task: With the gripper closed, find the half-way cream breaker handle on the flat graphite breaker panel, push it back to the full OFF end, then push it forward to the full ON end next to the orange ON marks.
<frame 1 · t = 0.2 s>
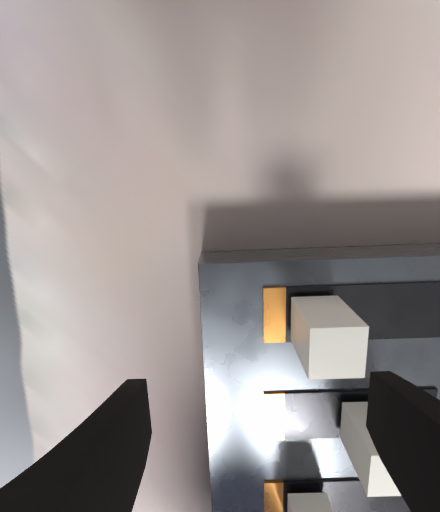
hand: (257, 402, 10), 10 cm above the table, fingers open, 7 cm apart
breaker 1: (324, 333, 15), point 5 cm above the table, slide at 3.0 cm
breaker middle: (376, 444, 16), point 5 cm above the table, slide at 0.0 cm
panel: (347, 381, 21), on the table
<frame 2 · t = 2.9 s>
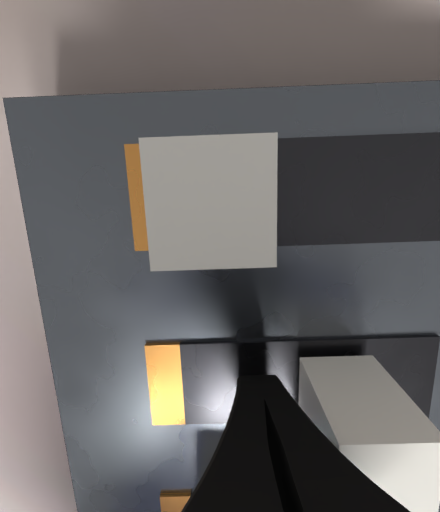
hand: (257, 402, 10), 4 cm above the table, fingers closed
breaker 1: (213, 200, 7), point 5 cm above the table, slide at 3.0 cm
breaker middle: (356, 428, 9), point 5 cm above the table, slide at -0.8 cm, touching gripper
panel: (300, 339, 14), on the table
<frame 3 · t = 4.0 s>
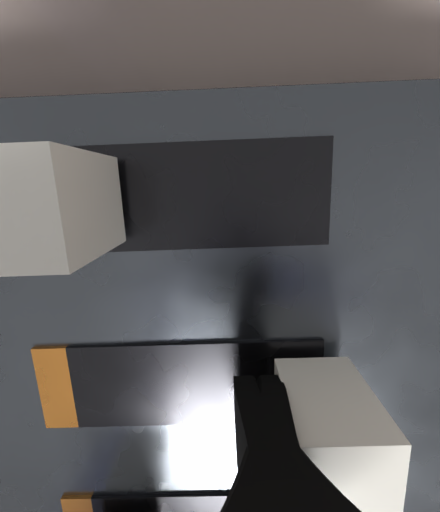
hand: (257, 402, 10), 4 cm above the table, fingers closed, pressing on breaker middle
breaker 1: (47, 206, 7), point 5 cm above the table, slide at 3.0 cm
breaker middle: (327, 430, 9), point 5 cm above the table, slide at -3.9 cm, touching gripper
panel: (213, 341, 14), on the table
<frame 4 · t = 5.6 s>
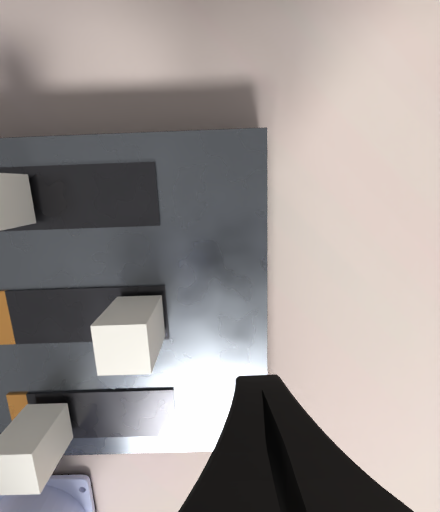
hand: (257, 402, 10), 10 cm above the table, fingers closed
breaker 2: (32, 445, 17), point 5 cm above the table, slide at 3.0 cm
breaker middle: (132, 331, 15), point 5 cm above the table, slide at -3.1 cm
panel: (115, 296, 20), on the table
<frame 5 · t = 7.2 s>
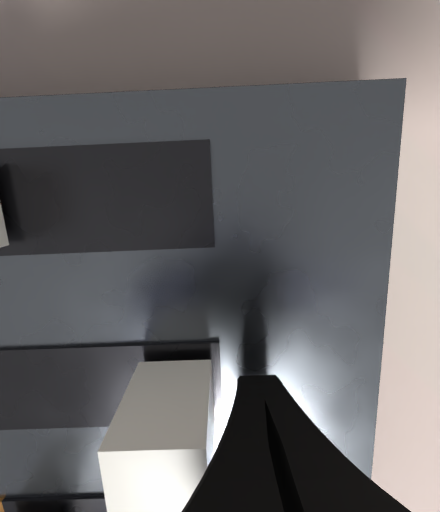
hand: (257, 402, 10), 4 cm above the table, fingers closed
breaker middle: (169, 433, 9), point 5 cm above the table, slide at -2.9 cm, touching gripper
panel: (134, 343, 14), on the table
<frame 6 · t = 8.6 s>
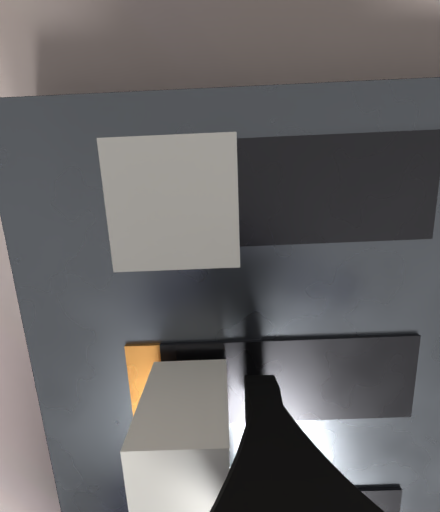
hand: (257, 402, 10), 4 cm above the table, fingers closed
breaker 1: (183, 200, 7), point 5 cm above the table, slide at 3.0 cm
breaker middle: (186, 432, 9), point 5 cm above the table, slide at 3.4 cm, touching gripper
panel: (285, 338, 14), on the table
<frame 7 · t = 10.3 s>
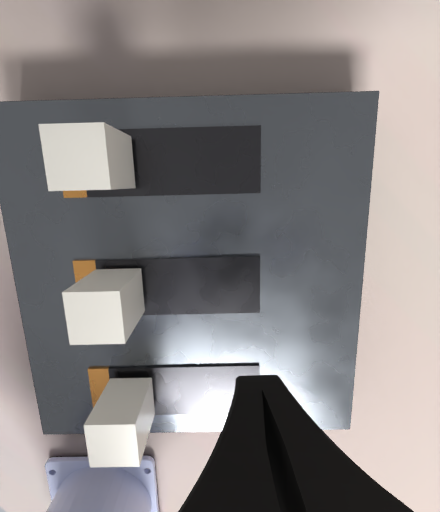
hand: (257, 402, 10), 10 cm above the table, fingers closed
breaker 2: (123, 418, 16), point 5 cm above the table, slide at 3.0 cm
breaker 1: (94, 160, 13), point 5 cm above the table, slide at 3.0 cm
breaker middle: (108, 302, 15), point 5 cm above the table, slide at 3.1 cm
panel: (193, 271, 20), on the table
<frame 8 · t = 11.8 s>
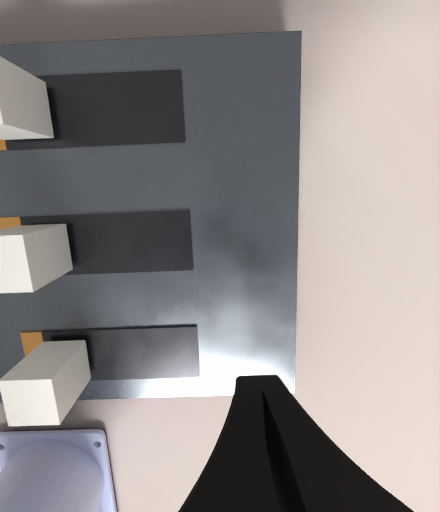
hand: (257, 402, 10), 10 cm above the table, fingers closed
breaker 2: (50, 379, 16), point 5 cm above the table, slide at 3.0 cm
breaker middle: (25, 255, 14), point 5 cm above the table, slide at 3.1 cm
panel: (133, 234, 19), on the table
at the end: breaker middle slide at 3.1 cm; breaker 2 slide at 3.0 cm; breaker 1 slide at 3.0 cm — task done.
